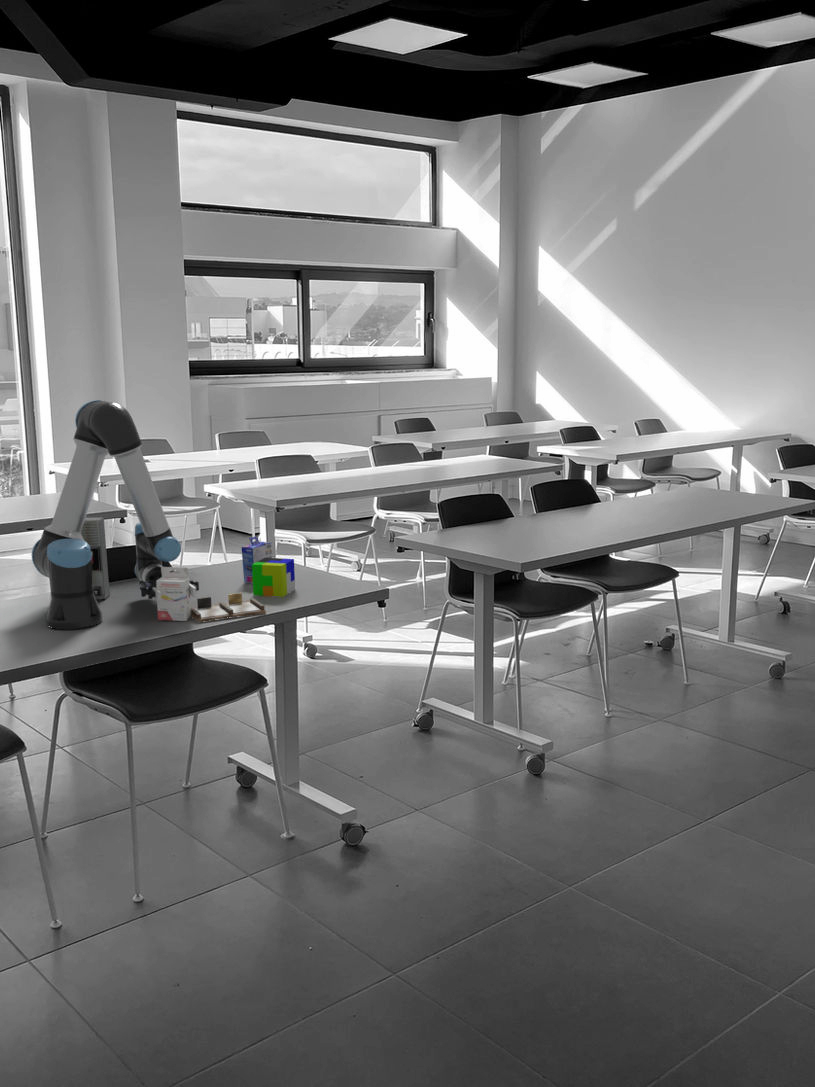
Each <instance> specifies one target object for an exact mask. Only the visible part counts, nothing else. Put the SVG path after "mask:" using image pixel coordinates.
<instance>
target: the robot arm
mask: <svg viewBox="0 0 815 1087" xmlns="http://www.w3.org/2000/svg"><path fill="white" fill-rule="evenodd" d="M74 423H75V428H76V430H75V433H74V436H73V441H74V444H75V446H76V448H75V450H74V454H73V456H72V460H71V462H70V466H69V469H68V472H67V475H66V478H65V481H64V484H63V488H62V490H61V493H60V496H59V499H58V503H57V506H56V509H55V512H54V514H53V519H52V521H51V524H49V525H48V526H44V528H43V531H42V534H41V537H40V539H38V540H37V541H36V542H35V543H34V545H33V547H32V550H31V561H32V564H33V566H34V568H35V569H36V570H37V571H38V573H40V574H41V575H42V576H44V577H46V578H48V579H49V584H50V586H49V588H50V598H51V599H50V601H49V602H50V603H49V606H48V611H47V615H46V626H47V625H48V626H50V627H52V628H56V629H55V630H59V629H72V630H77V629H76V628H81V629H85V628H84V627H87V628H89V627H88V626H91V627H94V626H97V625H100V624H101V623H102V622H103V612H102V610H101V608H100V605H99V603H98V601H97V600H98V599H96V598H95V596H94V588H93V574H92V560H91V558H92V554H91V550H90V546H89V544H88V543H87V542H85V541H84V539H83V537H82V535H81V530H82V527H83V524H84V521H85V518H87V514H88V511H89V508H90V505H91V502H92V500H93V496H94V493H95V491H96V487H97V484H98V480H99V478H100V474H101V471H102V468H103V466H104V462H105V458H106V456H108V455H109V456H110V457H112V458H114V459H115V462H116V464H117V468H118V469H119V470H118V471H119V472H120V475H121V477H122V480H123V482H124V485H125V487H126V491H127V493H128V495H129V498H130V501H131V503H132V506H133V508H134V510H135V514H136V515H137V518H138V521H139V522H137V523H136V524H135V526H134V539H135V540H134V541H135V550H136V551H135V553H136V554H135V555H136V564H135V567H134V574H135V577H137V579H138V581H139V590H140V594H141V597H142V598H144V597H146V595H147V597H148V598H147V599H148V600H152V599H153V598H154V599H155V600H156V602H157V601H158V602H160V601H161V592H160V591H159V590H158V589H157V587H156V581H157V580H158V579H160V578H161V577H162V573H161V567H164V566H163V562H166V563H170V562H173V561H175V560H177V559H178V558H179V557H180V555H181V552H182V545H181V543H180V541H179V540H178V539H177V538H175V537H174V536H173V533H172V530H171V528H170V526H169V523H168V520H167V516H166V514H165V512H164V509H163V507H162V504H161V501H160V499H159V496H158V493H157V491H156V488H155V485H154V482H153V480H152V477H151V475H150V472H149V470H148V467H147V463H146V461H145V459H144V455H143V453H142V450H141V448H142V447H143V443H142V440H141V438H140V434H139V432H138V429H137V427H136V425H135V422H134V419H133V417H132V416H131V413H130V412H129V411H128V410H127V409H126V408H125V406H123V405H121V404H119V403H117V402H113V401H106V400H102V399H100V400H99V399H98V400H97V399H96V400H91V401H87V402H86V403H84V404H83V405H82V406H80V408H79V409H78V410H77V412H76V415H75V422H74ZM189 583H190V597H192V598H197V591H199V590H200V585H199V583H200V582H199V581H198V580H194V579H191V578H189ZM100 622H101V623H100ZM96 624H97V625H96ZM93 625H94V626H93ZM48 626H47V627H48ZM52 628H51V629H52Z"/></svg>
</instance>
